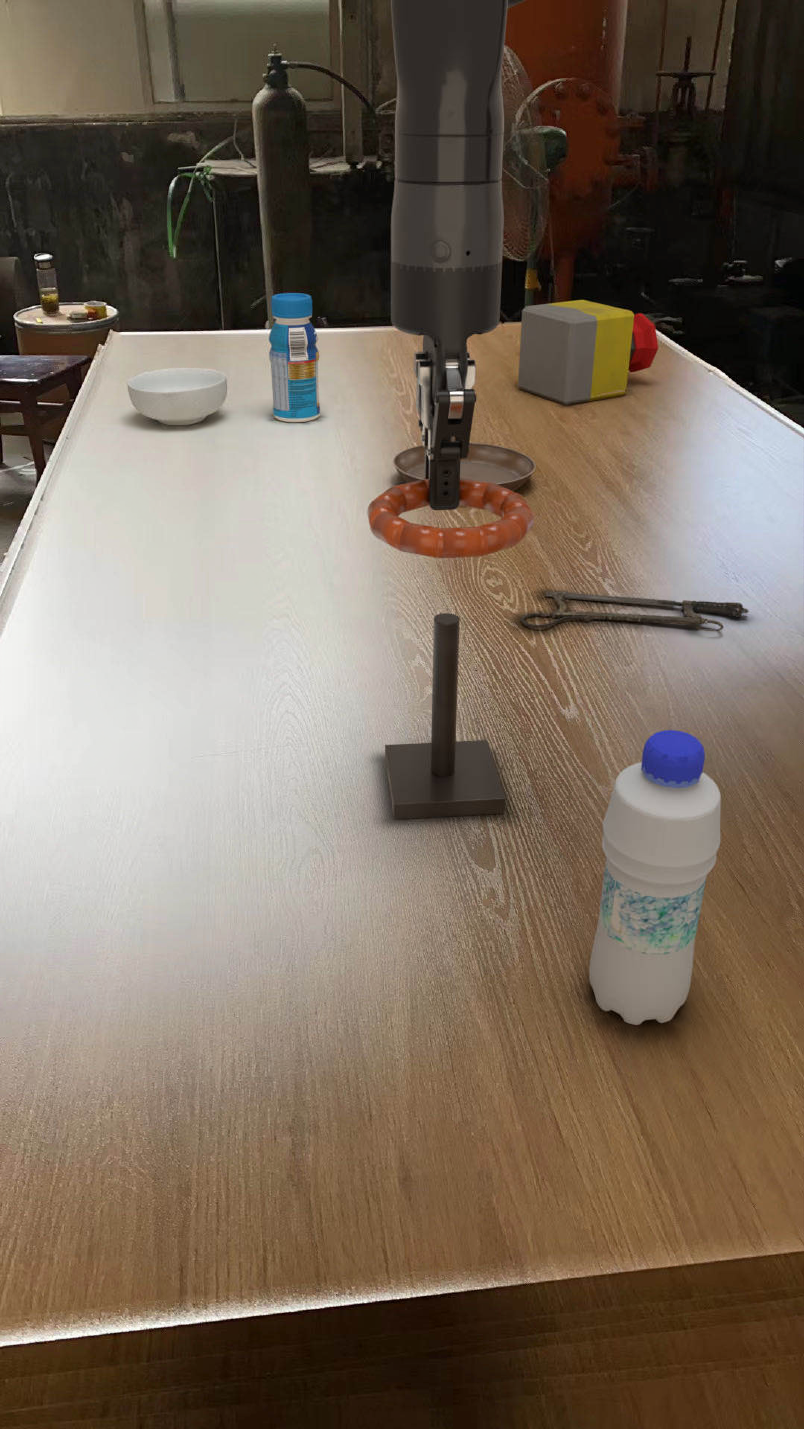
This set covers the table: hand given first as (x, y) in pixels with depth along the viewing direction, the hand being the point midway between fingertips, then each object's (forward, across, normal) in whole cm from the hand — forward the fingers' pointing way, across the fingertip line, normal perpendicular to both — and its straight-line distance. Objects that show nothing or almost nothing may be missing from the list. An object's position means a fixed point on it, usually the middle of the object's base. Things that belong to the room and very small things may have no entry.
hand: (441, 501), depth 82 cm
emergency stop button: (+24, +128, -46) cm, 138 cm away
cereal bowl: (+24, +113, +30) cm, 120 cm away
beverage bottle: (+24, +113, +10) cm, 116 cm away
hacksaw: (+24, +27, -25) cm, 44 cm away
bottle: (+24, -29, -9) cm, 39 cm away
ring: (-1, -5, 0) cm, 5 cm away
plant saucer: (+24, +75, -14) cm, 80 cm away
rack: (+24, -3, 0) cm, 24 cm away
